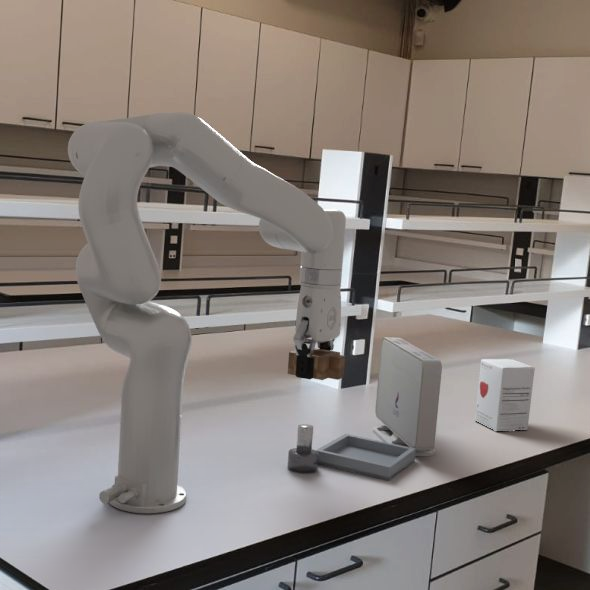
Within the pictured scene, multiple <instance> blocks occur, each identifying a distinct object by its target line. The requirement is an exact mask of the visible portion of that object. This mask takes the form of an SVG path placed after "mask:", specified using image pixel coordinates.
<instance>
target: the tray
mask: <svg viewBox="0 0 590 590" xmlns="http://www.w3.org/2000/svg"><path fill="white" fill-rule="evenodd" d="M314 450H315V451H317V452H318V453H319V459H318V465H321V466H325V467H329V468H333V469H338V470H342V471H345V472H346V471H347V472H350V473H355V474H359V475H363V476H366V477H371V478H376V479H381V480H385V481H391V480H392V479H393V478H395V477H396V476H397V475H398V474H400V473H401V472H402V471H405V469H407V468H408V467H409V466H410V465H412V464H413V463H414V462H415V461H416V456H415V452H416V451H417V450H416V449H415V448H410V447H409V446H404V445H402V444H391V443H387V442H383V441H382V440H377V439H373V438H366V437H363V436H358V435H354V434H349V433H344V434H342V435H341V436H339V437H337V438H336V439H334V440H331V441H330V442H327V444H324V445H322V446H320V447H319V448H317V449H314Z"/></svg>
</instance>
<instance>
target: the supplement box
mask: <svg viewBox="0 0 590 590" xmlns="http://www.w3.org/2000/svg"><path fill="white" fill-rule="evenodd" d="M479 367H480V368H479V376H478V386H477V394H476V395H477V396H476V406H475V415H474V422H475V421H477V422H479V423H481V424H483V425H485V426H487V427H489V428H491V429H493V430H494V431H493V430H492V431H493V432H495V431H509V432H514V431H513V430H527V429H528V427H529V421H530V420H529V419H530V411H531V403H532V396H533V395H532V393H533V386H534V376H535V370H536V369H535V368H536V367H535V366H532V365H529V364H526V363H524V362H521V361H518V360H515V359H513V358H482V359H480V365H479ZM477 422H476V423H477ZM479 423H478V424H479ZM481 424H480V425H481ZM483 425H482V426H483ZM485 426H484V427H485ZM487 427H486V428H487ZM489 428H488V429H489ZM491 429H490V430H491ZM527 431H528V430H527Z"/></svg>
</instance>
